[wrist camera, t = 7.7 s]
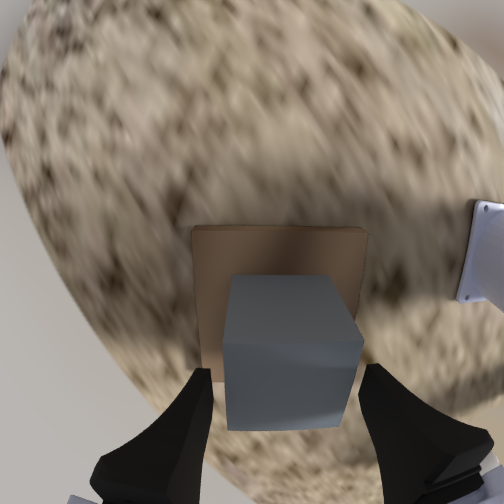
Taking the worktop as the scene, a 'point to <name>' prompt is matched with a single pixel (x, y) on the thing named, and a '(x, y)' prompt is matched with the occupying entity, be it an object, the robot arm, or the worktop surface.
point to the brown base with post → (267, 269)
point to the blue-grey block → (287, 353)
